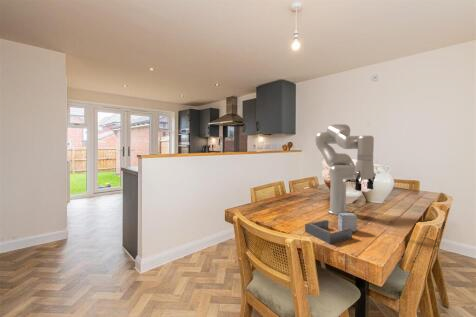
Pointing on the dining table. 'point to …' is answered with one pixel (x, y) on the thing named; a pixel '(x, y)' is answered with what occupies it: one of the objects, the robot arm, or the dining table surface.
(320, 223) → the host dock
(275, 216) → the dining table surface
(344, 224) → the medicine box
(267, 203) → the dining table surface
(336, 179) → the robot arm
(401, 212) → the dining table surface
